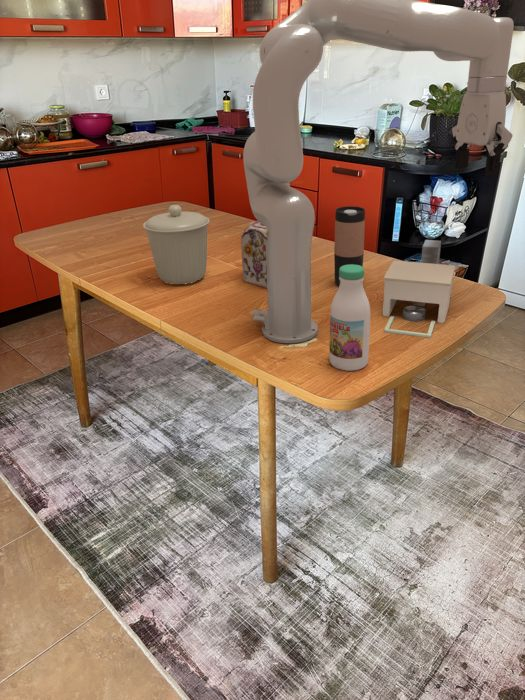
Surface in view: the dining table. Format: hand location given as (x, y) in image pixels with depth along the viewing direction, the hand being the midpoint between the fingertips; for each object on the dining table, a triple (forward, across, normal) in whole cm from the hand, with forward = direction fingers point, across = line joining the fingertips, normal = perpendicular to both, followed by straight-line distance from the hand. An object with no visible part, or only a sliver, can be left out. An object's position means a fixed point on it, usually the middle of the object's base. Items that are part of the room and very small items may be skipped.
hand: (475, 170), depth 125 cm
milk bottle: (+31, +16, -41) cm, 54 cm away
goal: (+31, +8, -20) cm, 38 cm away
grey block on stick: (+31, -9, -4) cm, 32 cm away
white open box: (+31, +1, -13) cm, 33 cm away
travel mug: (+31, -22, -19) cm, 42 cm away
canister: (+31, -48, -58) cm, 81 cm away
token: (+31, +4, -16) cm, 35 cm away
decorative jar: (+31, -35, -36) cm, 59 cm away
